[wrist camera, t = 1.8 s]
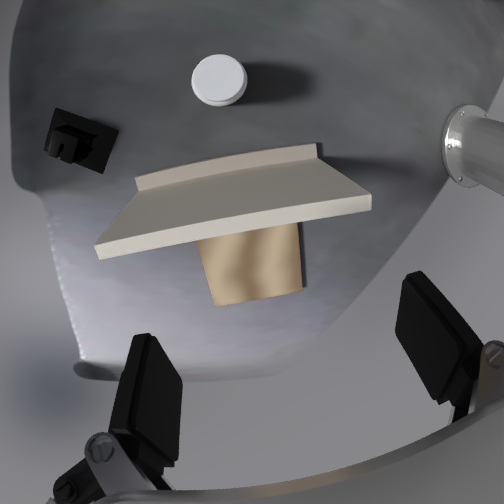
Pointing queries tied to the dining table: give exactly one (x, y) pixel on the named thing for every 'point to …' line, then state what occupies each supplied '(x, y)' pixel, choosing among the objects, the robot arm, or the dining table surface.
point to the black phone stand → (80, 140)
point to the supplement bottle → (219, 80)
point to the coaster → (252, 264)
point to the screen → (230, 198)
